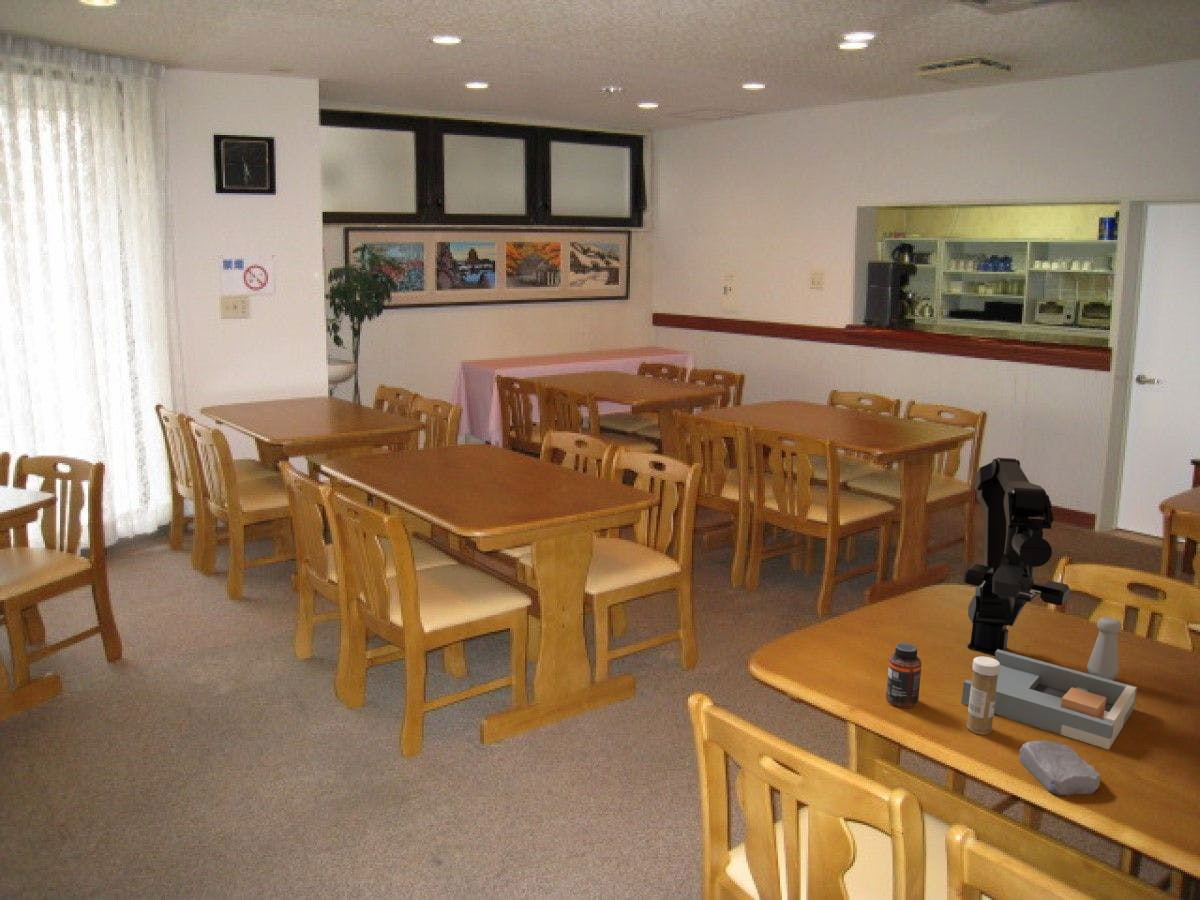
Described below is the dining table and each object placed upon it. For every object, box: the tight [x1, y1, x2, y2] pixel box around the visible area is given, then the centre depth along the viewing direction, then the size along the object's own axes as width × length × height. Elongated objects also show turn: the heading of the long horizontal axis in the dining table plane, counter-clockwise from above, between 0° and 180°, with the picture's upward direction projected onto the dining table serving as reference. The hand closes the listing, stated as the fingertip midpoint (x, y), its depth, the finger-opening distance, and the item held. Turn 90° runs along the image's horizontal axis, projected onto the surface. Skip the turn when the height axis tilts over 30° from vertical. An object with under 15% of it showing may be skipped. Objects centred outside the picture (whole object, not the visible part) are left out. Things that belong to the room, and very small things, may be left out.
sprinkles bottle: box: [965, 655, 1000, 735], centre depth 183 cm, size 5×5×14 cm
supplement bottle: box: [885, 642, 922, 709], centre depth 193 cm, size 6×6×11 cm
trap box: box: [960, 649, 1138, 750], centre depth 193 cm, size 26×20×5 cm
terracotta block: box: [1061, 687, 1107, 719], centre depth 185 cm, size 6×6×4 cm
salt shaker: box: [1086, 616, 1122, 681], centre depth 205 cm, size 6×6×13 cm
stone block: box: [1018, 740, 1101, 797], centre depth 169 cm, size 12×5×10 cm
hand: (1010, 624), depth 202 cm, fingers closed
